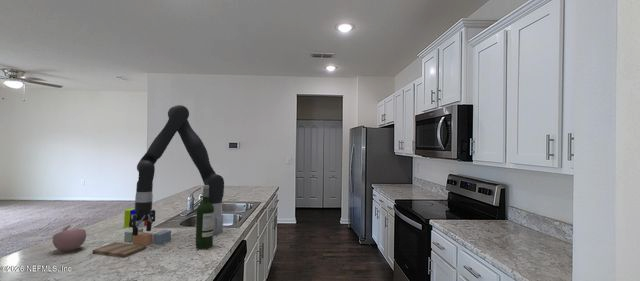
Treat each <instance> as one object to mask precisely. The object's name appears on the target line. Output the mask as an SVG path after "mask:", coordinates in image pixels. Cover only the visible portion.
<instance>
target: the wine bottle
mask: <svg viewBox="0 0 640 281" xmlns="http://www.w3.org/2000/svg"><path fill="white" fill-rule="evenodd" d="M202 188H203V190H202V201H201V203H200V204H199V205H198V206H197V208H196V220H195V221H196V223H195V248H196V249H198V250H206V249H207V250H208V249H211V248H212V247H213V245H214V243H213V241H214V235H213V220H214V207H213V205H212V204H211V203H210V202H209V185H204V184H203V186H202Z"/></svg>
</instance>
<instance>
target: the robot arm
mask: <svg viewBox="0 0 640 281" xmlns="http://www.w3.org/2000/svg"><path fill="white" fill-rule="evenodd" d="M189 116H190V110H189V109H188V108H187V107H186V106H184V105H181V104H180V105H179V104H178V105H174V106H172V107H170V108H169V109H168V112H167V117H168V120H167V122H166V124H165V125H164V127H163V128H162V129H161V131H160V132H159V133H158V134H157V135H156V137H155V138H154V140H153V141H152V142H151V144H150V145H149V147H148V149H147V151H146V152H145V153H144V155H142V157H141V159H140V160H139V161H138V163H137V165H136V170H137V172H138V180H137V182H136V192H135V199H134V200H135V201H134V207H135V211H136V214H135V215H130V221H129V227H132V229H133V233H132V234H133V236H137V235H138V226H139V224H141V222H143V221H146V222H147V223H148V224H147V225H146V226H145V227H146V228H145V231H146V232H151V231H152V224H153V223H154V222H156V210H154V209H153V198H154V196H153V195H154V194H153V186H154V185H153V182H154V178H155V171H156V170H155V169H156V168H155V165H156V163H157V161H158V160H159V159H160V158H161V157H162V156H163V154H164V153H165V151H166V150H167V148H168V146H169V144H170V143H171V141H172V139H173V138H174V136H175V135H176V133H178V135H179V137H180V139H181V142H182V143H183V145H184V147H185V150H186V151H187V153H188V155H189V157H190V159H191V161H192V163H193V164H194V166H195V168H197V171H198V173H199V175H200V177H201V179H202V183H203V186H204V185H209V202H210V203H211V204H212V205H213V207H214V220H213V236H215V235H217V236H218V235H219V234H221V233H223V230H224V228H223V227H224V226H223V225H224V215H223V214H222V212H223V211H222V210H223V198H224V192H225V180H224V178H223V177H222V175H220V174H217V173H216V171H215V170H214V169H213V167H212V165H211V162H210V158H209V153H208V150H207V148H206V146H205V144H204V142H203V141H202V138H200V136H199V135H198V134H197V133H196V132H195V130H194V129H193V128H192V127H191V126H192V125H191V124H190V123H189ZM137 220H138V221H137ZM132 222H133V225H132ZM136 224H137V225H136ZM129 227H128V228H129Z"/></svg>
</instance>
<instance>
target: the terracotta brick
mask: <svg viewBox="0 0 640 281" xmlns="http://www.w3.org/2000/svg"><path fill="white" fill-rule="evenodd" d="M153 234H154V233H153V232H144V231H143V232H138V235H137V236H133V242H132V244H136V245H144V246H146V247H147V246H149V245H153Z"/></svg>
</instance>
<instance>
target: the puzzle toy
mask: <svg viewBox="0 0 640 281" xmlns="http://www.w3.org/2000/svg"><path fill="white" fill-rule="evenodd" d="M135 214H136V211H135V206H134V207H130V208H128V209H125V210H124V216H123V217H124V218H123V219H124V220H123V221H124V222H123V227H124V228H132V227H129V221H130V215H135ZM137 221H138V220H137ZM147 224H148V223H147V222H146V221H143V222H141V224H139V226H138V228H144V227H146V226H147ZM132 225H133V222H132ZM136 225H137V224H136ZM132 229H133V228H132Z"/></svg>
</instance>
